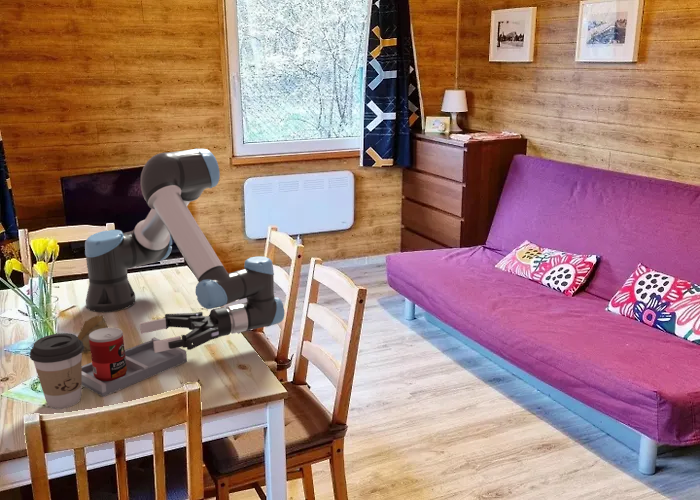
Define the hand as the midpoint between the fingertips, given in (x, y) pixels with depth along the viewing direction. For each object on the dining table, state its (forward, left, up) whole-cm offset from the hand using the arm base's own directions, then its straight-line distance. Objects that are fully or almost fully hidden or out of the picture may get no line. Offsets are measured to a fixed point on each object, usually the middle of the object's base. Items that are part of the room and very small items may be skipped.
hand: (146, 337), depth 163 cm
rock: (-23, -2, -9) cm, 25 cm away
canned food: (-3, -9, -8) cm, 12 cm away
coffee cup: (-2, -22, -9) cm, 24 cm away
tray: (-3, -3, -9) cm, 10 cm away
